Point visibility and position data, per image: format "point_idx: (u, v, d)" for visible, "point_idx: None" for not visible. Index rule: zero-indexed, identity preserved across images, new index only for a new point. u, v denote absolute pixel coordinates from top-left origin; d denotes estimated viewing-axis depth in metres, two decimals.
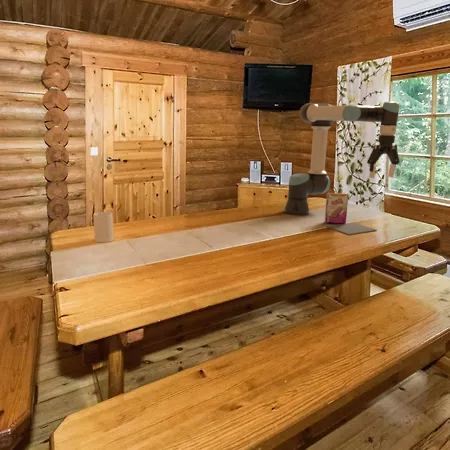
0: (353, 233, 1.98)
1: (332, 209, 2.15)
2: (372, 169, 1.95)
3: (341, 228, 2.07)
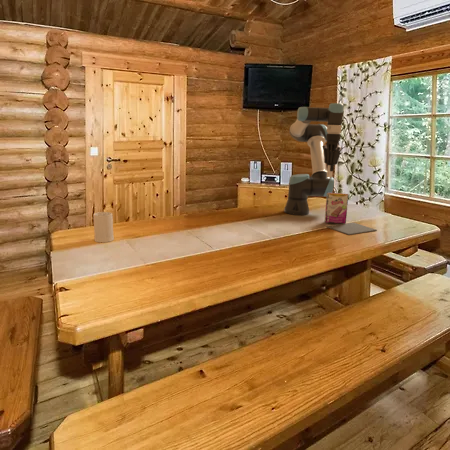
0: (353, 233, 1.98)
1: (332, 209, 2.16)
2: None
3: (341, 228, 2.07)
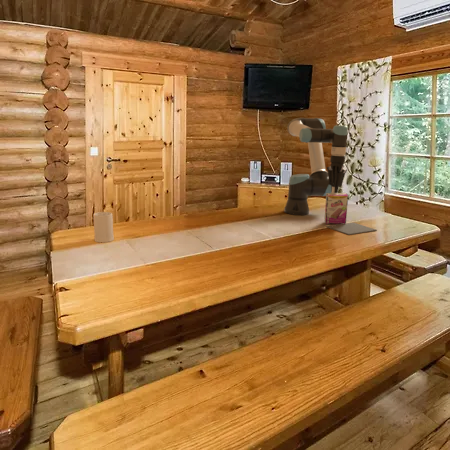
0: (353, 233, 1.98)
1: (332, 211, 2.14)
2: (331, 190, 2.17)
3: (341, 228, 2.07)
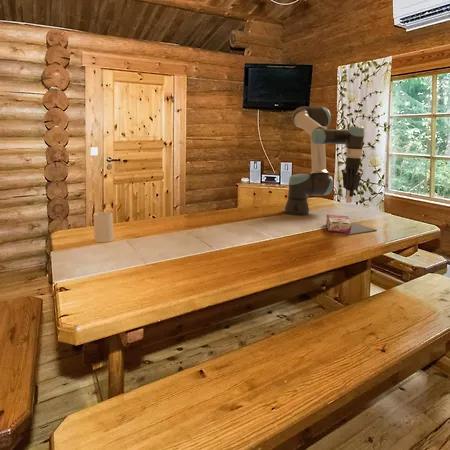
0: (353, 233, 1.98)
1: None
2: (346, 193, 2.08)
3: None
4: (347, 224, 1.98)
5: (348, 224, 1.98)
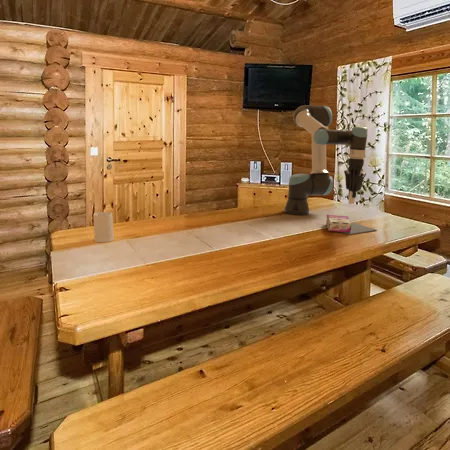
0: (353, 233, 1.98)
1: None
2: (349, 194, 2.06)
3: None
4: (347, 224, 1.98)
5: (348, 224, 1.98)
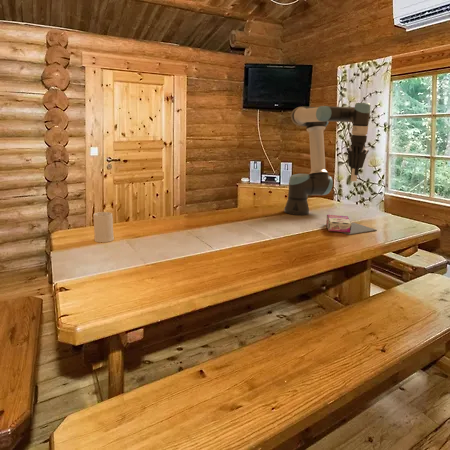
0: (353, 233, 1.98)
1: None
2: (351, 172, 2.05)
3: None
4: (347, 224, 1.98)
5: (348, 224, 1.98)
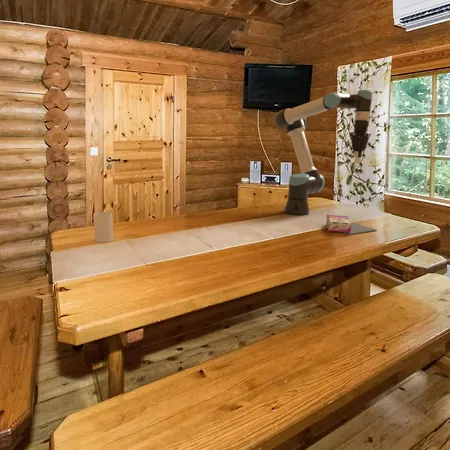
0: (353, 233, 1.98)
1: None
2: (355, 155, 2.22)
3: None
4: (347, 224, 1.98)
5: (348, 224, 1.98)
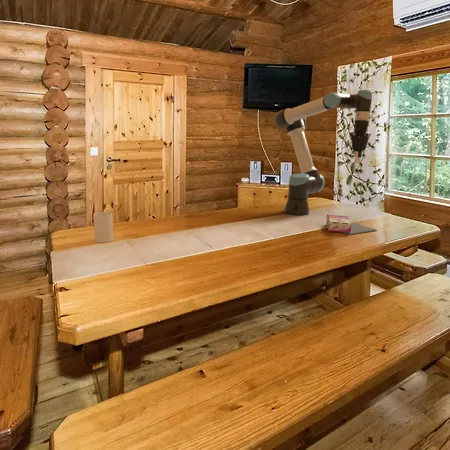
0: (353, 233, 1.98)
1: None
2: (355, 155, 2.22)
3: None
4: (347, 224, 1.98)
5: (348, 224, 1.98)
